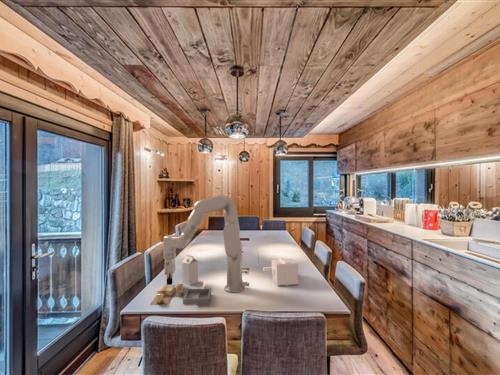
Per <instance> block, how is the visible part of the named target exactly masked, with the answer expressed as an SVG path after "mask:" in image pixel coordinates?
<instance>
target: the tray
mask: <svg viewBox="0 0 500 375" xmlns="http://www.w3.org/2000/svg"><path fill="white" fill-rule="evenodd" d="M190 294H191V295H192V294H199V295H198V297H193V298H189V295H190ZM211 296H212V287H209V288H208V287H207V288H188V289H186V291H185V294H184V295H183V297H182V304H183V305H187V304H189V305H191V304H192V305H193V304H196V305H198V306H210V302H211V301H210V300H211V298H210V297H211Z"/></svg>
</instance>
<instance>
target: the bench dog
mask: <svg viewBox="0 0 500 375" xmlns="http://www.w3.org/2000/svg"><path fill="white" fill-rule="evenodd" d="M156 295H157V304H158V305H157V306H161V305H160V304H163V303H164V293H157V292H156Z"/></svg>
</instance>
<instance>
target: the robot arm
mask: <svg viewBox="0 0 500 375" xmlns="http://www.w3.org/2000/svg"><path fill="white" fill-rule="evenodd" d="M221 210H223V219H224V228H223V230H222V233H223V244H224V252H225V254H226V285H224V286H223V287H224V290H225V291H226V292H228V293H234V294H235V293H240V292H243V291H244V290H245V287H250V282H248V281H243V244H242V242H241V236H240V231H241V230H240V222H239V217H238V215H239V214H238V209H237V204H236V203H235V201H234V200H233V199H232V198H231V197H229V196H227V195H224V194H220V195H219V194H218V195H216V196H213V197H210V198H206V199H200V200H198V201H196V202H195V203H194V205H193V209H192V211H191V213H190V214H189V216H188V218H187V220H186V221H187V222H186V225H185V227H184V229H183V230H182V232H181V234H180V235H179V236H176V235H172V234H167V235H165V236H163V246H162V247H163V248H162V249H163V250H162V251H163V253H162V255H163V257H162V258H163V260H164V269H163V270H164V275H165V276H166V285H173V275H174V274H175V272H176V257H177V249H180V250H181V249H183V248H185V247H187V246H188V244H190V242H191V241H192V239H193V237H194V236H195V234H196V232H197V230H198V229H199V228H200V226H201V224H202V223H203V221H204V219H205V218H206V216H207V214H210V213H213V212H218V211H221Z"/></svg>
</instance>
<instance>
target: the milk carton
mask: <svg viewBox="0 0 500 375" xmlns="http://www.w3.org/2000/svg"><path fill="white" fill-rule="evenodd" d="M181 265H182V271H181V273H182V284H183V285H184V284H185V285H186V286H187V285H188V286H191V285H194V284H196V283H198V281H199V274H198V273H199V270H198V268H199V266H198V265H199V264H198V260H197V259H195V257H194V256H193V255H189V254H186V256H185V258H184V259H183V260H182V264H181Z"/></svg>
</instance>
